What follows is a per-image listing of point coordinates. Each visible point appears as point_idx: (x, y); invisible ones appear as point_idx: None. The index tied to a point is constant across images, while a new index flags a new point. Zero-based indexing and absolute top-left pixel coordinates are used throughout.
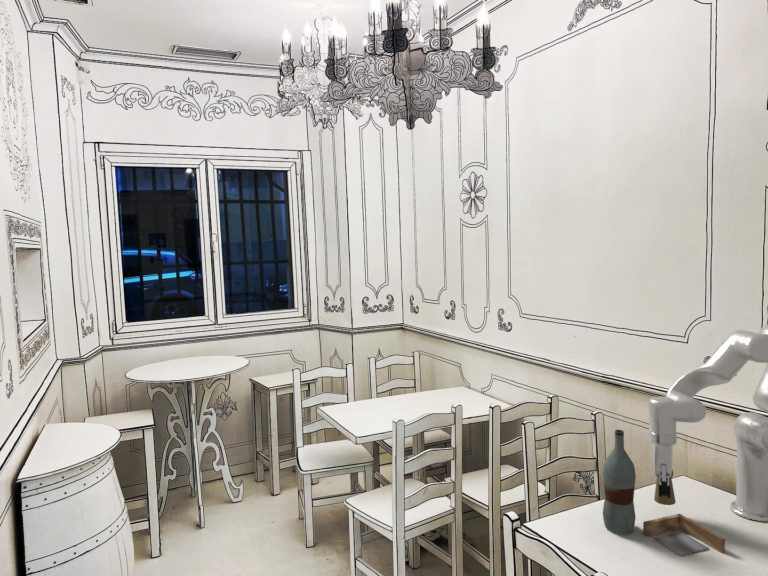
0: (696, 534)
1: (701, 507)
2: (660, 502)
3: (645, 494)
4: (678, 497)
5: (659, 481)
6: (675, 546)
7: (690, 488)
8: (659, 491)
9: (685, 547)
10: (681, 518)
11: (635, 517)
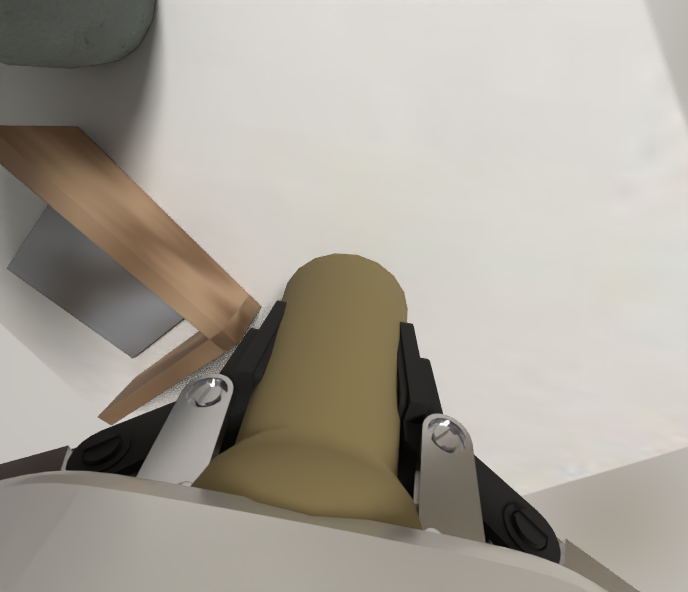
0: (178, 349)
1: (456, 404)
2: (287, 285)
3: (629, 211)
4: (559, 357)
5: (173, 413)
6: (57, 261)
7: (650, 412)
8: (265, 326)
9: (79, 293)
10: (206, 339)
11: (5, 63)
